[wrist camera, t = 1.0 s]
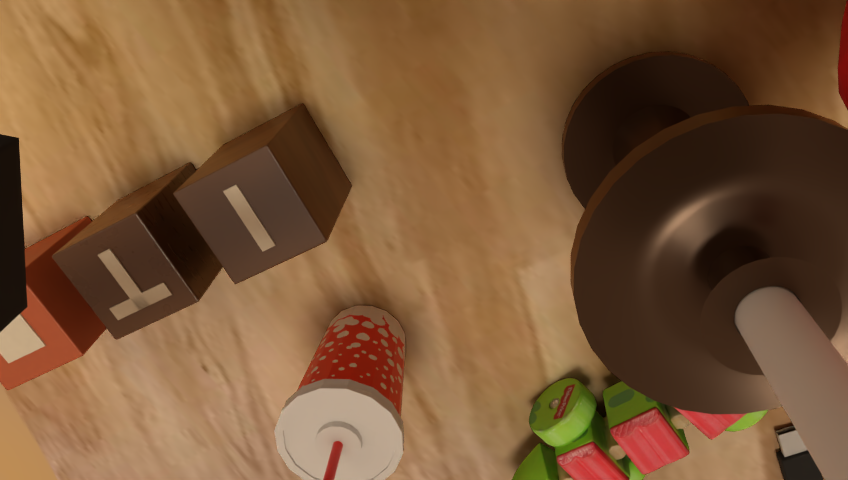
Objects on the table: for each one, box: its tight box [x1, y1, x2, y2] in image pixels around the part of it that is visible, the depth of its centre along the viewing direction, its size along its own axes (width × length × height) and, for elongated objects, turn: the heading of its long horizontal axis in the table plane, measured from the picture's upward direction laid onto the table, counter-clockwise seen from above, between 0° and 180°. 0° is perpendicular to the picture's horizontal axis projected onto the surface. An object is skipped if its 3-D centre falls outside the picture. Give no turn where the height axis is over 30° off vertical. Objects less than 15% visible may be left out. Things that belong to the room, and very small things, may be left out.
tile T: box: [52, 163, 223, 339], centre depth 39 cm, size 5×5×7 cm
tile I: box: [173, 104, 352, 284], centre depth 37 cm, size 5×5×7 cm
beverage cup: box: [275, 306, 406, 480], centre depth 38 cm, size 6×6×14 cm
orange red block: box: [0, 217, 106, 390], centre depth 40 cm, size 5×5×7 cm
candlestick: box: [562, 51, 848, 480], centre depth 22 cm, size 11×11×35 cm
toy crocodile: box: [512, 378, 768, 480], centre depth 41 cm, size 20×7×6 cm, turn 133°
